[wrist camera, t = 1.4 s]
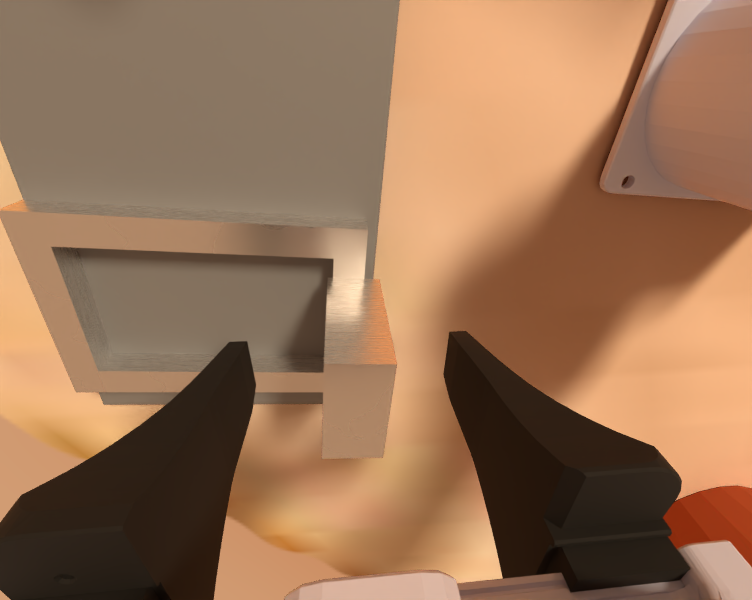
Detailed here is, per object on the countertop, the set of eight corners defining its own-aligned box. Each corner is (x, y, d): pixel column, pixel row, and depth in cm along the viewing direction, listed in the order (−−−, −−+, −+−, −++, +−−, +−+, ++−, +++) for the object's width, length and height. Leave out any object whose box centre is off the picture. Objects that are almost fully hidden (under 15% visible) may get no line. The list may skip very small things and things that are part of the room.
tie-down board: (459, -702, 7) (476, -812, 6) (360, 389, 21) (361, 403, 20) (-393, -1012, 5) (-531, -1218, 4) (113, 389, 19) (103, 404, 18)
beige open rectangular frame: (381, 219, 15) (406, 302, 9) (365, 374, 19) (377, 493, 13) (23, 199, 13) (-189, 285, 8) (91, 373, 17) (-18, 506, 12)
